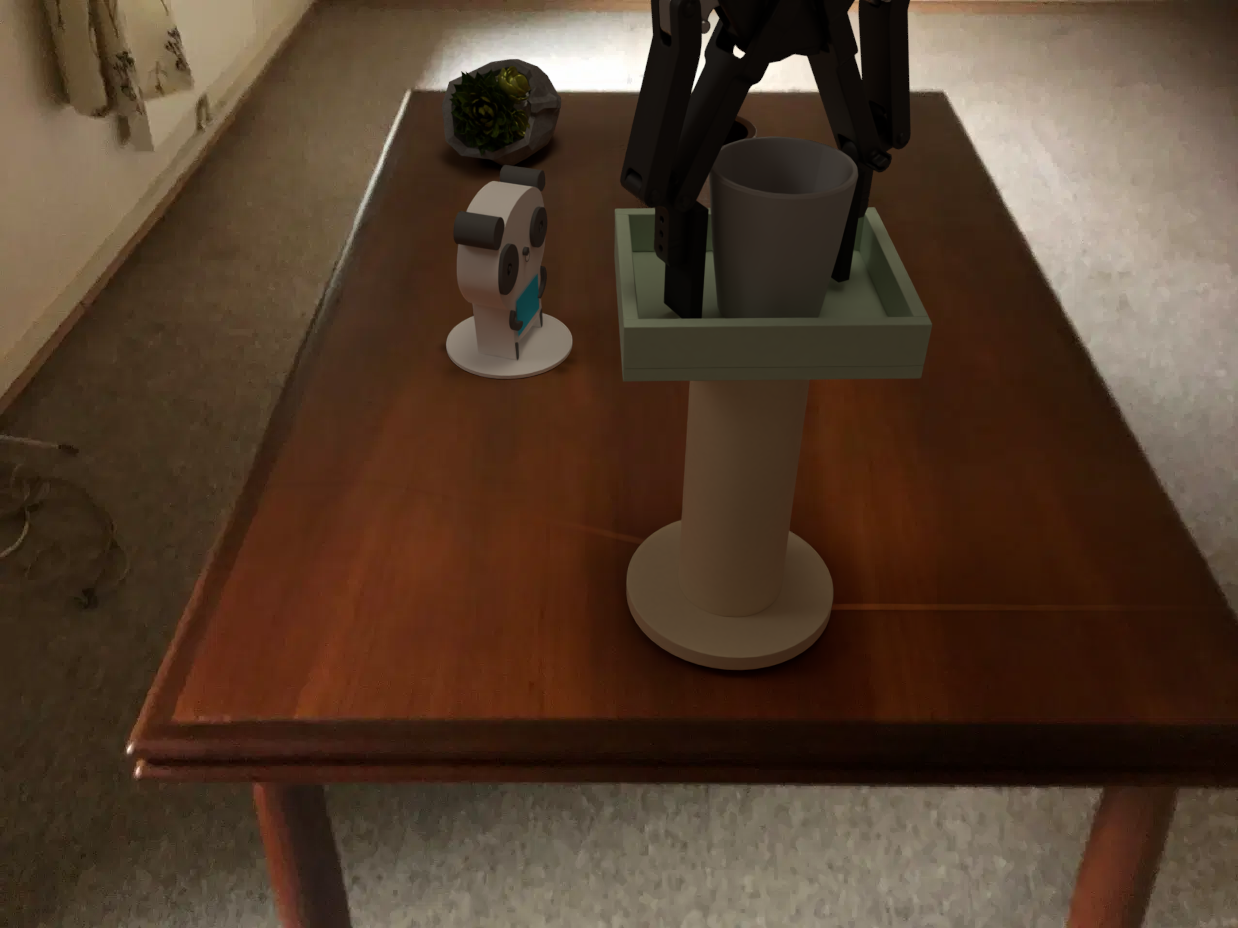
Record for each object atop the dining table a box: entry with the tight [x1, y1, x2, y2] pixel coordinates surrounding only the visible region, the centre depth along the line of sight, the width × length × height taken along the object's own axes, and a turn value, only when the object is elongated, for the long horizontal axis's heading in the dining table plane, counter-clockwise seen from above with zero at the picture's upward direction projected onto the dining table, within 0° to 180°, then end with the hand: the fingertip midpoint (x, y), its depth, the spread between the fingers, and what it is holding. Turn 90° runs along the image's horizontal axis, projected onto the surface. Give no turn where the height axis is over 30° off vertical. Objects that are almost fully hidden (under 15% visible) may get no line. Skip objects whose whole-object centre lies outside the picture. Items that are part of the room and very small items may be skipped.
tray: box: [613, 206, 933, 671], centre depth 70 cm, size 16×14×25 cm
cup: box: [709, 135, 858, 318], centre depth 62 cm, size 8×10×8 cm
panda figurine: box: [445, 165, 573, 380], centre depth 98 cm, size 12×11×15 cm
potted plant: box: [441, 58, 562, 167], centre depth 132 cm, size 12×13×15 cm
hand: (758, 291), depth 64 cm, fingers open, 9 cm apart
